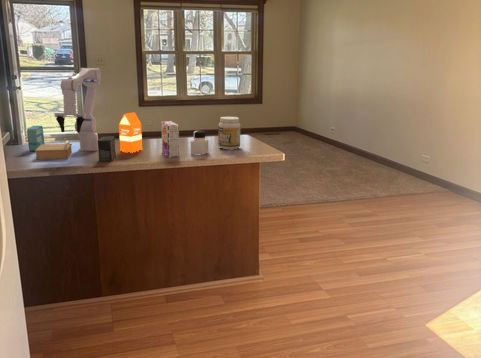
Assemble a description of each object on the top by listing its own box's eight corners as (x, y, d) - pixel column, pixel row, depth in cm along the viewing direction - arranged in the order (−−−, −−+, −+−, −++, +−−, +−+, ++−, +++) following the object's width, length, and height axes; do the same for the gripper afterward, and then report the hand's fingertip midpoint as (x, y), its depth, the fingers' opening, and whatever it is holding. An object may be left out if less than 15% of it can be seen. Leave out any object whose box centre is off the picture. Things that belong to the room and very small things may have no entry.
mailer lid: (71, 144, 232) (71, 139, 231) (67, 150, 219) (66, 144, 218) (41, 145, 229) (40, 139, 229) (35, 151, 216) (34, 145, 215)
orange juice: (142, 150, 242) (140, 112, 237) (132, 153, 235) (130, 114, 229) (130, 148, 245) (128, 111, 240) (120, 151, 238) (117, 113, 232)
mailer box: (71, 152, 233) (71, 145, 232) (67, 158, 220) (66, 150, 219) (42, 153, 230) (42, 145, 229) (36, 159, 217) (35, 151, 216)
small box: (102, 156, 226) (101, 136, 223) (116, 156, 226) (114, 136, 223) (98, 161, 215) (96, 140, 213) (112, 161, 216) (110, 140, 213)
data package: (38, 151, 234) (35, 128, 231) (28, 151, 234) (26, 128, 230) (44, 147, 246) (42, 125, 242) (36, 147, 245) (33, 125, 242)
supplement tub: (214, 149, 247) (214, 118, 243) (223, 145, 258) (223, 115, 254) (235, 151, 243) (235, 119, 238) (243, 147, 254) (244, 117, 249)
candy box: (161, 152, 238) (160, 121, 233) (172, 151, 240) (171, 120, 235) (168, 157, 225) (167, 125, 221) (179, 157, 228) (179, 124, 223)
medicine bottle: (208, 152, 238) (208, 130, 235) (203, 155, 231) (202, 132, 228) (196, 151, 240) (195, 129, 237) (190, 154, 234) (190, 131, 230)
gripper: (51, 103, 215) (52, 132, 217) (82, 104, 216) (82, 133, 218) (57, 103, 222) (58, 131, 224) (86, 104, 223) (87, 132, 225)
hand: (70, 132), depth 222 cm, fingers open, 7 cm apart
